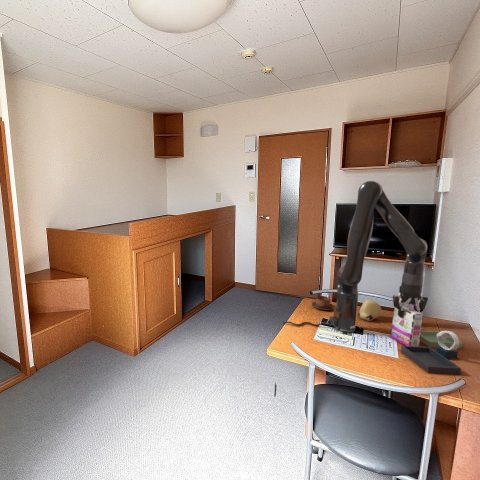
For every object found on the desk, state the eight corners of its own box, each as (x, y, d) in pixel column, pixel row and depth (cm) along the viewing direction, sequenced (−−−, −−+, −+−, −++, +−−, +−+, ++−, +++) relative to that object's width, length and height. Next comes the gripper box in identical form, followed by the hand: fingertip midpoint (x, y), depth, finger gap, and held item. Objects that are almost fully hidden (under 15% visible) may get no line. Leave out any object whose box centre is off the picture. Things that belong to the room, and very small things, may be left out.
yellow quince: (359, 321, 180) (351, 312, 175) (368, 304, 182) (361, 294, 177) (377, 327, 171) (369, 318, 166) (387, 309, 173) (379, 299, 169)
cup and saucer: (313, 302, 199) (314, 293, 198) (335, 306, 192) (336, 297, 191) (309, 309, 189) (310, 299, 188) (332, 313, 182) (333, 303, 181)
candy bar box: (419, 348, 143) (424, 313, 140) (409, 348, 143) (414, 314, 140) (399, 336, 154) (403, 304, 151) (389, 337, 154) (393, 305, 151)
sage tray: (429, 347, 144) (429, 341, 143) (411, 335, 155) (412, 330, 155) (461, 348, 142) (462, 343, 142) (441, 336, 154) (442, 331, 153)
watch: (443, 350, 141) (446, 327, 139) (461, 360, 133) (465, 335, 131) (431, 351, 140) (434, 327, 138) (448, 360, 132) (452, 336, 130)
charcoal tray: (427, 372, 124) (428, 366, 124) (400, 351, 140) (401, 345, 140) (460, 374, 123) (461, 368, 123) (428, 352, 139) (429, 346, 139)
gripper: (423, 280, 146) (418, 314, 149) (390, 279, 148) (386, 313, 151) (435, 285, 139) (430, 321, 142) (400, 284, 140) (396, 320, 143)
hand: (407, 317), depth 146 cm, fingers closed on candy bar box, 5 cm apart
